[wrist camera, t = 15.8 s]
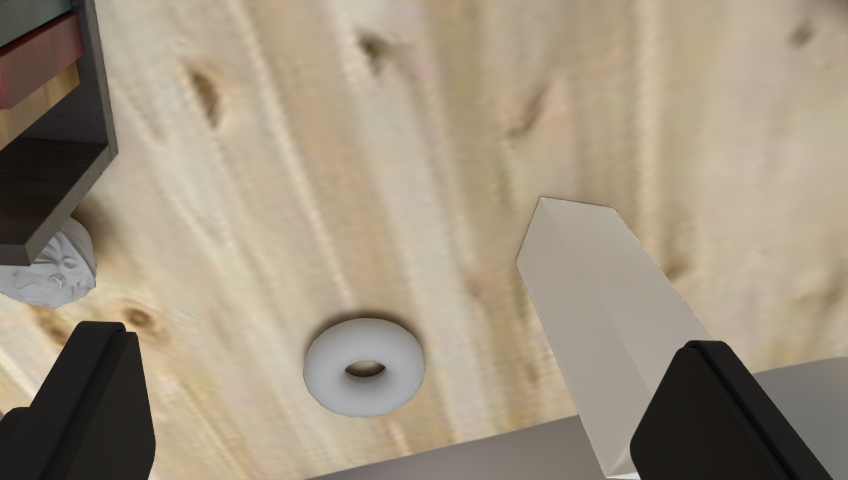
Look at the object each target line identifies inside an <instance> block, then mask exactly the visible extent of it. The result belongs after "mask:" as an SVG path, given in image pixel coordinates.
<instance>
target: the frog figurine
mask: <svg viewBox="0 0 848 480" xmlns="http://www.w3.org/2000/svg"><path fill="white" fill-rule="evenodd" d="M96 268H97V261H96V259H94V256H93V244H92V240H91V238H90V235H89V234H88V232H87V231H86V229H85V228H84V227H83V226H82V225H81V224H80V223H79V222H78V221H76V220H75V219H73V218H71V217H68V218H67V220H66V221H65V222H64V223H63V225H62V226H61V227H60V229H59V230H58V231H57V232H56V234H55V235H54V236H53V238H52V239H51V240H50V241H49V243H48V244H47V245H46V247H45V248H44V249H43V250H42V252H41V253H40V254H39V256H38V257H37V258H36V259H35V261H34V262H33V263H32V265H31V266H29V267H27V266H5V265H0V293H2V294H4V295H6V296H8V297H10V298H12V299H14V300H18V301H21V302H25V303H28V304H30V305H34V306H44V307H46V306H49V307H51V308H53V309H56V308H58V307H60V306H62V305H63V304H67V303H71V302H74V301H76V300H78V299H80V298H82V297H84V296H85V295H86V294H87V293H88V292H89V290H92V289H93V288H95V287H96V282H95V277H96Z"/></svg>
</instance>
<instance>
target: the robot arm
mask: <svg viewBox="0 0 848 480" xmlns="http://www.w3.org/2000/svg"><path fill="white" fill-rule="evenodd" d="M155 449H156V442H155V435H154V429H153V423H152V417H151V411H150V405H149V400H148V394H147V388H146V382H145V376H144V371H143V365H142V359H141V353H140V347H139V341H138V337H137V334H136V333H135V332H126V329H125V326H124V324H123V323H121V322H98V321H82V322H80V323H79V324H78V325H77V326H76V327H75V329H74V331H73V332H72V334H71V336H70V338H69V339H68V341H67V343H66V345H65V346H64V348H63V350H62V351H61V353H60V355H59V357H58V358H57V360H56V362H55V363H54V365H53V367H52V369H51V370H50V372H49V374H48V376H47V377H46V379H45V381H44V382H43V384H42V386H41V388H40V389H39V391H38V393H37V394H36V396H35V398H34V400H33V401H32V403H31V405H30V407H17V408H13V409H12V410H11V411H9V412H8V413H6V415H5V416H4V417H3V419H2V420H1V421H0V480H148V477H149V474H150V471H151V468H152V465H153V461H154V456H155ZM630 456H631V459H632V462H633V464H634V466H635V468H636V470H637V472H638V474H639V477H640V479H641V480H833V479H832V478H831V476H830V475H829V474H828V473H827V471H826V470H825V469H824V467H823V466H822V465H821V464H820V462H819V461H818V460H817V458H816V457H815V456H814V455H813V453H812V452H811V451H810V449H809V448H808V447H807V446H806V444H805V443H804V442H803V440H802V439H801V438H800V437H799V435H798V434H797V433H796V431H795V430H794V429H793V428H792V426H791V425H790V424H789V422H788V421H787V420H786V419H785V417H784V416H783V415H782V414H781V412H780V411H779V410H778V408H777V407H776V406H775V404H774V403H773V402H772V401H771V399H770V398H769V397H768V396H767V394H766V393H765V392H764V390H763V389H762V388H761V386H760V385H759V384H758V383H757V381H756V380H755V379H754V377H753V376H752V375H751V374H750V372H749V371H748V370H747V368H746V367H745V366H744V365H743V363H742V362H741V361H740V359H739V358H738V357H737V356H736V354H735V353H734V352H733V350H732V349H731V348H730V347H729V346H728V345H727V344H726V343H725V342H722V341H710V340H690V341H688V342H687V343H686V344H685V345H684V346H683V348H680V349H678V350H677V352H676V353H675V355H674V357H673V359H672V361H671V363H670V365H669V367H668V369H667V370H666V372H665V374H664V376H663V378H662V380H661V382H660V384H659V386H658V388H657V390H656V392H655V394H654V396H653V398H652V400H651V402H650V403H649V405H648V407H647V409H646V411H645V413H644V415H643V417H642V419H641V421H640V423H639V425H638V427H637V429H636V431H635V433H634V434H633V436H632V438H631V441H630Z"/></svg>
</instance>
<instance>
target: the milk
mask: <svg viewBox="0 0 848 480" xmlns="http://www.w3.org/2000/svg"><path fill="white" fill-rule="evenodd" d="M516 264H517V266H518V269H519V271H520V274H521V276H522V278H523V281H524V283H525V286H526V288H527V291H528V293H529V295H530V298H531V300H532V303H533V305H534V307H535V310H536V312H537V315H538V317H539V319H540V322H541V324H542V327H543V329H544V331H545V334H546V336H547V339H548V341H549V344H550V346H551V348H552V351H553V353H554V356H555V358H556V360H557V363H558V365H559V368H560V370H561V372H562V375H563V377H564V380H565V382H566V385H567V387H568V389H569V392H570V394H571V397H572V399H573V401H574V404H575V406H576V409H577V411H578V413H579V416H580V418H581V421H582V423H583V425H584V428H585V430H586V433H587V435H588V437H589V440H590V442H591V445H592V447H593V449H594V452H595V454H596V457H597V459H598V461H599V464H600V466H601V469H602V471H603V474H604V476H605V477H606V478H619V479H621V478H622V479H640V477H639V474H638V472H637V470H636V468H635V466H634V464H633V462H632V459H631V456H630V441H631V438H632V436H633V434H634V433H635V431H636V429H637V427H638V425H639V423H640V421H641V419H642V417H643V415H644V413H645V411H646V409H647V407H648V405H649V403H650V402H651V400H652V398H653V396H654V394H655V392H656V390H657V388H658V386H659V384H660V382H661V380H662V378H663V376H664V374H665V372H666V370H667V369H668V367H669V365H670V363H671V361H672V359H673V357H674V355H675V353H676V352H677V350H678V349H680V348H683V346H684V345H685V344H686V343H687V342H688V341H690V340H710V341H714V340H713V338H712V337H711V336H710V334H709V333H708V332H707V330H706V329H705V328H704V326H703V325H702V324H701V322H700V321H699V320H698V319H697V317H696V316H695V315H694V313H693V312H692V311H691V309H690V308H689V307H688V305H687V304H686V303H685V301H684V300H683V299H682V297H681V296H680V295H679V294H678V292H677V291H676V290H675V288H674V287H673V286H672V284H671V283H670V282H669V280H668V279H667V278H666V276H665V275H664V274H663V272H662V271H661V270H660V268H659V267H658V266H657V265H656V263H655V262H654V261H653V259H652V258H651V257H650V255H649V254H648V253H647V251H646V250H645V249H644V247H643V246H642V245H641V243H640V242H639V241H638V240H637V238H636V237H635V236H634V234H633V233H632V232H631V230H630V229H629V228H628V226H627V225H626V224H625V222H624V221H623V220H622V218H621V217H620V216H619V214H618V213H617V212H616V211H615V209H614V208H611V207H604V206H598V205H591V204H585V203H578V202H572V201H565V200H559V199H552V198H546V197H540V199H539V202H538V204H537V207H536V210H535V212H534V215H533V218H532V220H531V223H530V225H529V228H528V231H527V233H526V236H525V239H524V241H523V244H522V247H521V249H520V252H519V255H518V257H517V260H516Z"/></svg>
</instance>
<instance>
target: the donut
mask: <svg viewBox="0 0 848 480" xmlns="http://www.w3.org/2000/svg"><path fill="white" fill-rule="evenodd" d="M359 361H374V362H378V363H380V364H382V365H383V366H385V369H384V370H383V371H382V372H381V373H379V374H377V375H375V376H370V377H356V376H353V375H350V374H349V373H347V372H346V371H345V369H346V368H347V367H348V366H349V365H351V364H353V363H356V362H359ZM425 371H426V363H425V358H424V353H423V350H422V347H421V346H420V345H419V343H418V342H417V340H416V339H415V337H414V336H413V335H412V334H411V333H409V332H408V331H406V330H405V329H404V328H402V327H401V326H399V325H398V324H395V323H392V322H389V321H386V320H382V319H372V318H359V319H354V320H348V321H344V322H341V323H339V324H337V325H335V326H333V327H330V328H328V329H327V330H326V331H325V332H324V333H322V334H321V335H320V336H319V337H318V338H317V339H316V340H315V341H314V342H313V343H312V345H311V347H310V348H309V350H308V352H307V354H306V356H305V359H304V369H303V377H304V380H305V383H306V386H307V388H308V391H309V393H310V394H311V395H312V396H313V398H314V399H315V400H316V401H317V402H318V403H319V404H320V405H321V406H323V407H325V408H327V409H329V410H330V411H332V412H334V413H337V414H341V415H345V416H348V417H360V418H369V417H374V416H380V415H384V414H387V413H389V412H391V411H394V410H396V409H398V408H400V407H401V406H403V405H404V404H405V403H407V402H408V401H409V400H411V399H412V398H413V396H414V395H415V394H416V392H417V391H418V389H419V388H420V387H421V385H422V383H423V379H424V375H425Z"/></svg>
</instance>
